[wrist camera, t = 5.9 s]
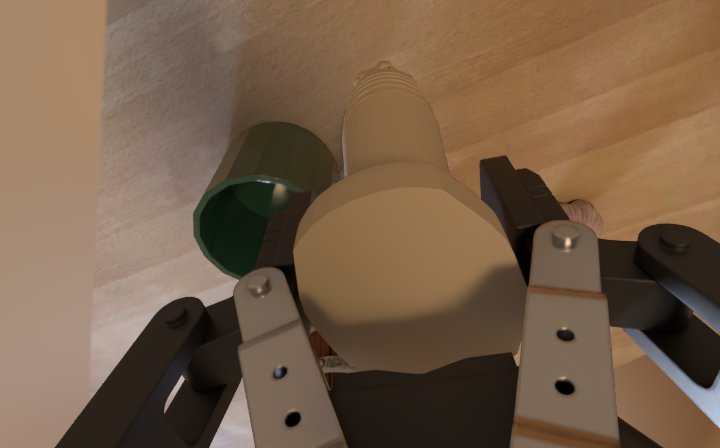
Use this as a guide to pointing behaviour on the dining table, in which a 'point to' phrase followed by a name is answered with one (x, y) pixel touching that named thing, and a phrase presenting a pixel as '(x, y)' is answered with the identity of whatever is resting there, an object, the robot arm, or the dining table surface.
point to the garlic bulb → (584, 215)
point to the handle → (405, 244)
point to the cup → (257, 191)
